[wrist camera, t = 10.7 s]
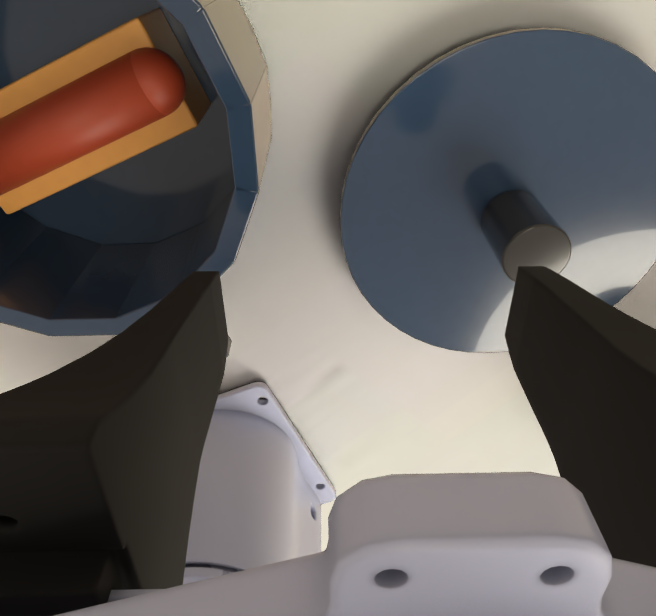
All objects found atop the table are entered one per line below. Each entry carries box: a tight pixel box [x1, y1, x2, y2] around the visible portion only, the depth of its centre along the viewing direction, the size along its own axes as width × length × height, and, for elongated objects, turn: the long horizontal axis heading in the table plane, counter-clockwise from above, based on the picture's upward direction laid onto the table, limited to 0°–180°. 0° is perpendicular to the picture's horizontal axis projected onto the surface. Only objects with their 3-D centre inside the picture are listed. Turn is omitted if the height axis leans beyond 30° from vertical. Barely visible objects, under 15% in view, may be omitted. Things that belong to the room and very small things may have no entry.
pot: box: [0, 0, 272, 357], centre depth 18 cm, size 12×18×6 cm
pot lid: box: [340, 28, 656, 353], centre depth 21 cm, size 13×13×4 cm
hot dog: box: [0, 8, 211, 214], centre depth 18 cm, size 8×3×4 cm, turn 113°
